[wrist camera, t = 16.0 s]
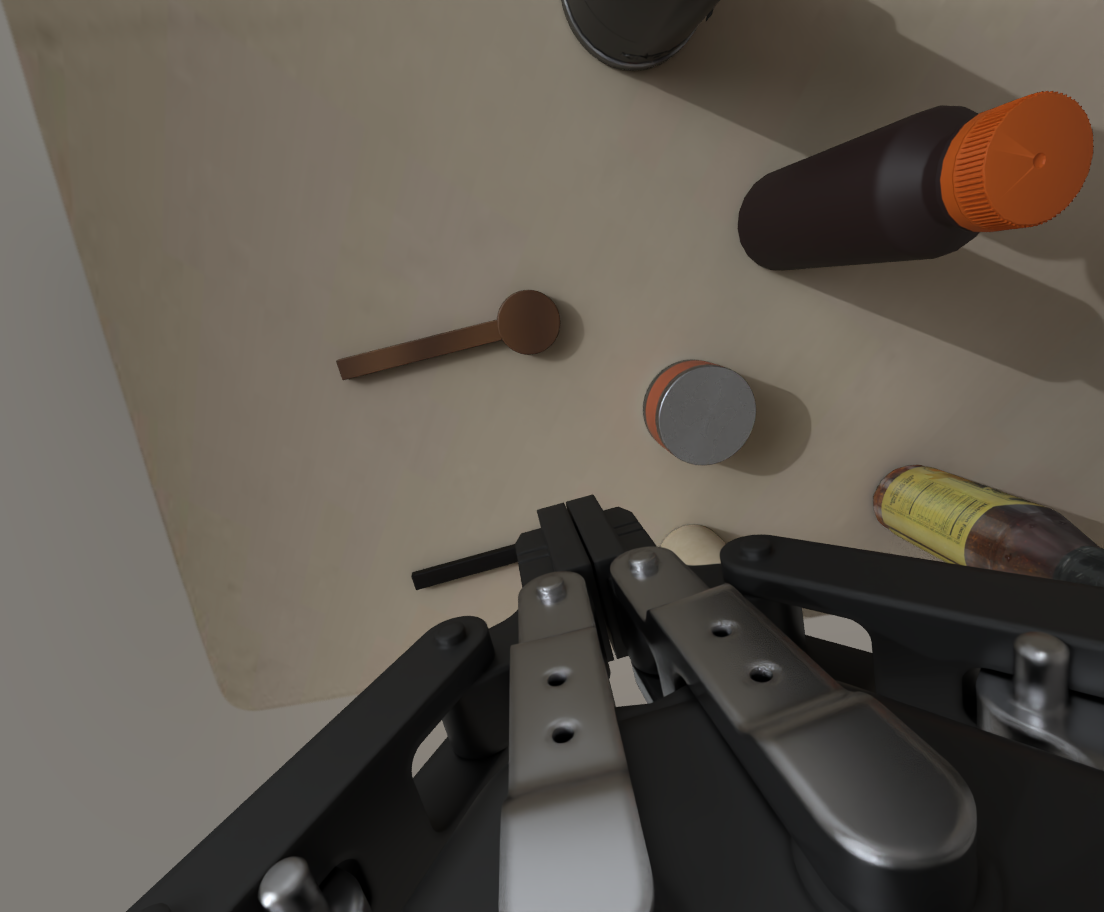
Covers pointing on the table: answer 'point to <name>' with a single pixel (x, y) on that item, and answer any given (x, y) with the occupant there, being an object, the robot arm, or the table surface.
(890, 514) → the sauce bottle
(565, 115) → the table surface
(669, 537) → the candle
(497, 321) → the spoon
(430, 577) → the fork
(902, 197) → the vinegar
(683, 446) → the tin can
